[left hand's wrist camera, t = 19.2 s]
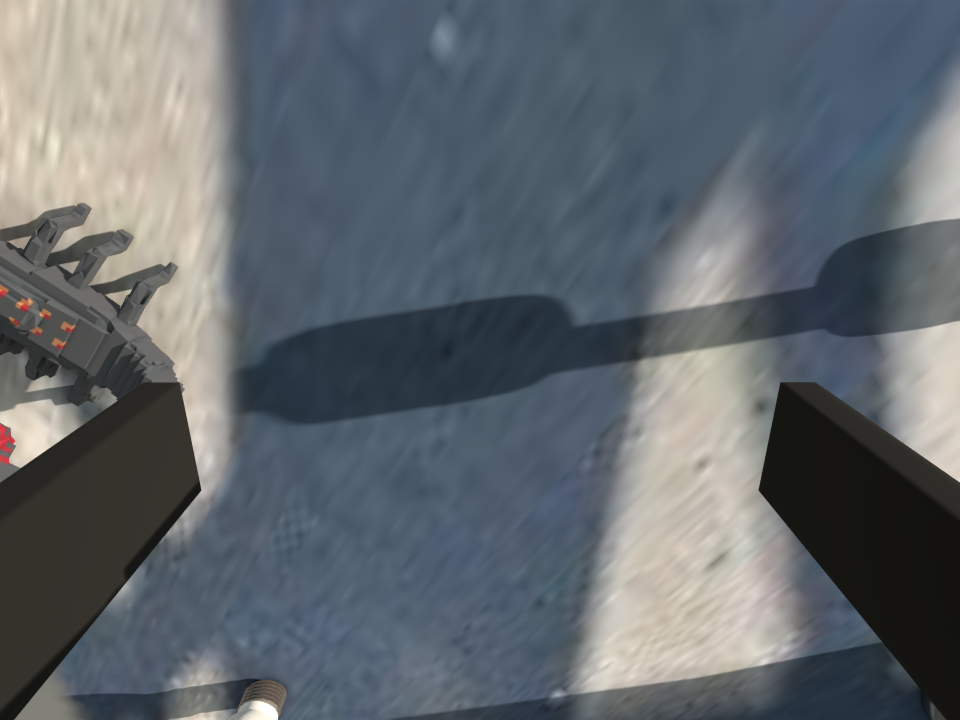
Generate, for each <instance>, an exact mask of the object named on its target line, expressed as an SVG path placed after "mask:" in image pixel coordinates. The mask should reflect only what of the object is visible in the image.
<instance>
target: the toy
mask: <svg viewBox="0 0 960 720" xmlns="http://www.w3.org/2000/svg"><path fill="white" fill-rule="evenodd" d="M91 209H92V208H90V207H89V206H87V205H86V204H84V203H80V204H78V205H77V206H76V208H75V209H74V211H73V212H72V213H71V214H70V215H65V216H60V217H55V218H49V219H42V221H41V222H40V224H39V225H38V227H37V228H36V230H35V231H34V233H33V235H32V237H31V238H30V240H29V242H28V243H27V245H26V247H25V249H24V250H23V249H21V248H17V247H15V246H14V245H12V244H11V243H9V242H5V241H0V355H2V354H4V353H6V352H12V353H13V354H18V353H21V352H22V349H23V347H24V346H26V347H27V348H29V349H31V351H30V352H29V360H28V362H27V364H26V366H25V371H26V376H27V377H28V378H30V379H32V380H33V381H34V380H36V379H38V378H40V377H42V376H44V375H47V376H49V377H50V378H51V377H53V376H55V375H57V374H58V372H59V370H60V368H61V366H63V367H65V368H66V369H68V370H70V371H71V372H73V373H75V374H77V375H78V376H79V377H78V378H77V380H76V382H75V384H74V386H73V388H72V390H71V392H70V394H69V396H68V398H67V400H68V401H70V402H72V403H73V404H75V405H77V406H79V405H81V404H82V403H84V402H85V401H86V400H89V401H91V402H92V403H94V402H96V401H97V400H99V399H100V397H101V395H102V394H103V392H104V390H105V388H106V387H107V388H108V389H110V390H111V391H112V394H113V395H114V396H116V397H117V400H120V399H121V398H123V397H124V396H126V395H127V394H128V393H130V392H131V391H133V390H134V389H136V388H137V387H139V386H140V385H141V384H143V383H144V382H178V381H176V380H177V379H178V378H176V377H175V375H176V374H175V373H174V372H173V369H172V367H173V365H174V362H173V361H172V360H171V359H170V358H169V357H168V356H167V355H166V354H165V353H163V352H162V351H161V350H160V349H159V348H158V347H157V346H156V345H155V344H154V343H152V341H151V338H150V337H149V336H148V335H147V334H146V333H145V332H144V331H143V330H142V329H141V328H139V327H138V326H137V325H136V324H137V322H138V320H139V318H140V316H141V314H142V312H143V310H144V308H145V306H146V305H147V303H148V302H149V300H150V299H151V298H152V296H153V295H154V293H155V292H156V290H157V288H159V287H160V286H162V285H164V284H167V283H169V281H170V280H171V278H172V276H173V275H174V273H175V271H176V270H177V268H178V266H176V265H175V264H173V263H172V262H170V263H169V264H168V265H167V266H166V267H165V268H164V269H163V270H162V271H161V272H160V273H159V274H157V275H155V276H153V277H150V278H148V279H145V280H143V279H140V280H138V281H137V282H136V284H135V285H134V287H133V289H132V291H131V293H130V294H129V295H127V296H126V298H125V300H124V302H123V304H122V306H121V308H120V305H118V304H117V303H115V302H114V301H112V300H111V299H110V298H108V297H107V296H105V295H104V294H102V293H97V292H96V291H95V290H93V289H92V288H91V287H90V286H89V285H88V284H89V283H90V282H91V281H92V280H93V278H94V276H95V275H96V273H97V272H98V270H99V269H100V267H101V266H102V264H103V263H104V261H105V260H106V258H107V257H108V256H111V255H116V254H120V253H122V252H124V251H125V250H127V248H128V246H129V244H130V243H131V241H132V239H133V236H132V235H130V234H129V233H127V232H126V231H124V230H123V229H121V230H117V232H116V233H115V234H114V236H113V237H112V238H111V239H110V241H108V242H107V243H105V244H104V245H100V246H97V247H93V248H91V249H89V250H88V251H86V252H85V253H84V255H83V257H82V259H81V261H80V262H79V264H78V266H77V268H76V269H75V271H74V273H73V274H71V273H70V272H68V271H67V270H65V269H64V268H62V267H61V266H59V265H56V266H52V267H51V266H49V265H48V264H46V260H47V258H48V256H49V254H50V252H51V250H52V249H53V248H54V246H55V245H56V244H57V242H58V240H59V239H60V237H61V236H62V234H63V232H64V231H66V230H68V229H70V228H73V227H77V226H81V225H83V224H84V222H85V220H86V218H87V216H88V214H89V212H90V210H91ZM182 386H183V384H181V383H180V387H181V392H183V391H184V388H183V387H182ZM14 442H15V440H14V439H13V438H12V437H11V428H9V427H6V426H4V425H3V424H1V423H0V482H2V481H3V480H5V479H6V478H8V477H9V476H10V475H12V474H13V473H15V472H16V471H18V470H19V469H20V468H19V467H17V466H15V465H12V464H10V463H9V457H10V455H11V454H12V452H13V450H14V449H15V447H16V446H15V445H13V443H14Z"/></svg>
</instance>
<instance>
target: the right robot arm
mask: <svg viewBox="0 0 960 720" xmlns="http://www.w3.org/2000/svg"><path fill="white" fill-rule="evenodd" d="M922 699H923V706H924V709H925V712H926V714H927V715H928V717H929V718H930V720H946V719H945V718H944V717H943V716H942V714H941V713H940V712H939V711H938V709H937V708H936V707H935V706H934V705H933V703H932V702H931V701H930V700H929V698H928V697H927V696H926V695H925V693H924V692H923V696H922Z"/></svg>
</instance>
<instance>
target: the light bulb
mask: <svg viewBox="0 0 960 720" xmlns="http://www.w3.org/2000/svg"><path fill="white" fill-rule="evenodd" d="M286 695H287V693H286V690H285V688H284V687H283V686H282V685H281V684H279V683H277V682H274V681H270V680H262V681H257V682H254V683H252V684H251V685H249V686H248V687H247V689H246V690H245V693H244V695H243V697H242V700H241V702H240V704H239V707H238V709H237V713H236V714H234V715H232V716H231V717H229V718H228V719H226V720H277V719H278V717H279V716H280V713H281V709H282V707H283V704H284V701H285V698H286Z"/></svg>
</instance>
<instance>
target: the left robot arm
mask: <svg viewBox="0 0 960 720" xmlns="http://www.w3.org/2000/svg"><path fill="white" fill-rule="evenodd" d="M200 491H201V486H200V481H199V476H198V471H197V466H196V461H195V456H194V451H193V446H192V442H191V437H190V432H189V427H188V422H187V417H186V412H185V407H184V402H183V397H182V392H181V387H180V382H144V383H143V384H141V385H140V386H139V387H137V388H136V389H134V390H133V391H131V392H130V393H128V394H127V395H126V396H124V397H123V398H121V399H120V400H118V401H117V402H115V403H114V404H113V405H111V406H110V407H108V408H107V409H105V410H104V411H103V412H101V413H100V414H98V415H97V416H95V417H94V418H92V419H91V420H90V421H88V422H87V423H85V424H84V425H82V426H81V427H79V428H78V429H77V430H75V431H74V432H72V433H71V434H69V435H68V436H67V437H65V438H64V439H62V440H61V441H59V442H58V443H56V444H55V445H54V446H52V447H51V448H49V449H48V450H46V451H45V452H44V453H42V454H41V455H39V456H38V457H36V458H35V459H33V460H32V461H31V462H29V463H28V464H26V465H25V466H23V467H22V468H20V469H19V470H18V471H16V472H15V473H13V474H12V475H10V476H9V477H8V478H6V479H5V480H3V481H2V482H0V720H14V719H15V718H16V717H17V715H18V714H19V713H20V712H21V711H22V709H23V708H24V707H25V706H26V704H27V703H28V702H29V701H30V700H31V698H32V697H33V696H34V695H35V693H36V692H37V691H38V690H39V689H40V687H41V686H42V685H43V684H44V682H45V681H46V680H47V679H48V678H49V676H50V675H51V674H52V673H53V671H54V670H55V669H56V668H57V667H58V665H59V664H60V663H61V662H62V660H63V659H64V658H65V657H66V656H67V654H68V653H69V652H70V651H71V649H72V648H73V647H74V646H75V645H76V643H77V642H78V641H79V640H80V638H81V637H82V636H83V635H84V633H85V632H86V631H87V630H88V629H89V627H90V626H91V625H92V624H93V622H94V621H95V620H96V619H97V618H98V616H99V615H100V614H101V613H102V611H103V610H104V609H105V608H106V607H107V605H108V604H109V603H110V602H111V600H112V599H113V598H114V597H115V596H116V594H117V593H118V592H119V591H120V589H121V588H122V587H123V586H124V585H125V583H126V582H127V581H128V580H129V578H130V577H131V576H132V575H133V574H134V572H135V571H136V570H137V569H138V567H139V566H140V565H141V564H142V562H143V561H144V560H145V559H146V558H147V556H148V555H149V554H150V553H151V551H152V550H153V549H154V548H155V547H156V545H157V544H158V543H159V542H160V540H161V539H162V538H163V537H164V536H165V534H166V533H167V532H168V531H169V529H170V528H171V527H172V526H173V525H174V523H175V522H176V521H177V520H178V518H179V517H180V516H181V515H182V514H183V512H184V511H185V510H186V509H187V507H188V506H189V505H190V504H191V502H192V501H193V500H194V499H195V498H196V496H197V495H198V494H199V493H200ZM759 491H760V493H761V494H762V495H763V496H764V498H765V499H766V500H767V501H768V502H769V504H770V505H771V506H772V507H773V509H774V510H775V511H776V512H777V514H778V515H779V516H780V517H781V518H782V520H783V521H784V522H785V523H786V525H787V526H788V527H789V528H790V529H791V531H792V532H793V533H794V534H795V536H796V537H797V538H798V539H799V540H800V542H801V543H802V544H803V545H804V547H805V548H806V549H807V550H808V551H809V553H810V554H811V555H812V556H813V558H814V559H815V560H816V561H817V562H818V564H819V565H820V566H821V567H822V569H823V570H824V571H825V572H826V574H827V575H828V576H829V577H830V578H831V580H832V581H833V582H834V583H835V585H836V586H837V587H838V588H839V589H840V591H841V592H842V593H843V594H844V596H845V597H846V598H847V599H848V600H849V602H850V603H851V604H852V605H853V607H854V608H855V609H856V610H857V611H858V613H859V614H860V615H861V616H862V618H863V619H864V620H865V621H866V622H867V624H868V625H869V626H870V627H871V629H872V630H873V631H874V632H875V633H876V635H877V636H878V637H879V638H880V640H881V641H882V642H883V643H884V645H885V646H886V647H887V648H888V649H889V651H890V652H891V653H892V654H893V656H894V657H895V658H896V659H897V660H898V662H899V663H900V664H901V665H902V667H903V668H904V669H905V670H906V671H907V673H908V674H909V675H910V676H911V678H912V679H913V680H914V681H915V682H916V684H917V685H918V686H919V687H920V689H921V690H922V691H923V692H924V693H925V695H926V696H927V697H928V698H929V700H930V701H931V702H932V703H933V705H934V706H935V707H936V708H937V709H938V711H939V712H940V713H941V714H942V716H943V717H944V718H945V719H946V720H960V482H958V481H957V480H955V479H954V478H952V477H951V476H950V475H948V474H947V473H945V472H944V471H942V470H941V469H940V468H938V467H937V466H935V465H934V464H932V463H931V462H929V461H928V460H927V459H925V458H924V457H922V456H921V455H919V454H918V453H916V452H915V451H914V450H912V449H911V448H909V447H908V446H906V445H905V444H904V443H902V442H901V441H899V440H898V439H896V438H895V437H893V436H892V435H891V434H889V433H888V432H886V431H885V430H883V429H882V428H881V427H879V426H878V425H876V424H875V423H873V422H872V421H870V420H869V419H868V418H866V417H865V416H863V415H862V414H860V413H859V412H857V411H856V410H855V409H853V408H852V407H850V406H849V405H847V404H846V403H845V402H843V401H842V400H840V399H839V398H837V397H836V396H834V395H833V394H832V393H830V392H829V391H827V390H826V389H824V388H823V387H821V386H820V385H819V384H817V383H816V382H780V387H779V392H778V397H777V402H776V407H775V412H774V417H773V422H772V427H771V432H770V437H769V442H768V446H767V451H766V456H765V461H764V466H763V471H762V476H761V481H760V486H759Z"/></svg>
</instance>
